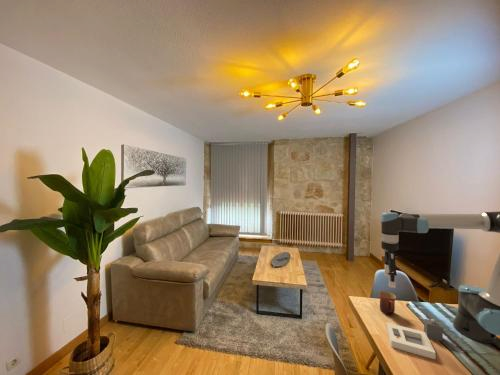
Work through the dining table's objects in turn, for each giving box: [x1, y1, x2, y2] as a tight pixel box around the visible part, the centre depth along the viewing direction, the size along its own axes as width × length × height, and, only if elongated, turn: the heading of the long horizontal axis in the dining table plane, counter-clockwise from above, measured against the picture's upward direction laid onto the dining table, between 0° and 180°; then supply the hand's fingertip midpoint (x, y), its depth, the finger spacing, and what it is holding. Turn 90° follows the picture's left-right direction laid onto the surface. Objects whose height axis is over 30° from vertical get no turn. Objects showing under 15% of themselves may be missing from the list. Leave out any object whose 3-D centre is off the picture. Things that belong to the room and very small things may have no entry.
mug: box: [378, 290, 397, 316], centre depth 122 cm, size 12×9×10 cm
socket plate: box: [385, 321, 437, 360], centre depth 100 cm, size 16×14×4 cm
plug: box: [423, 318, 444, 342], centre depth 104 cm, size 6×4×8 cm
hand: (389, 281), depth 111 cm, fingers open, 13 cm apart
